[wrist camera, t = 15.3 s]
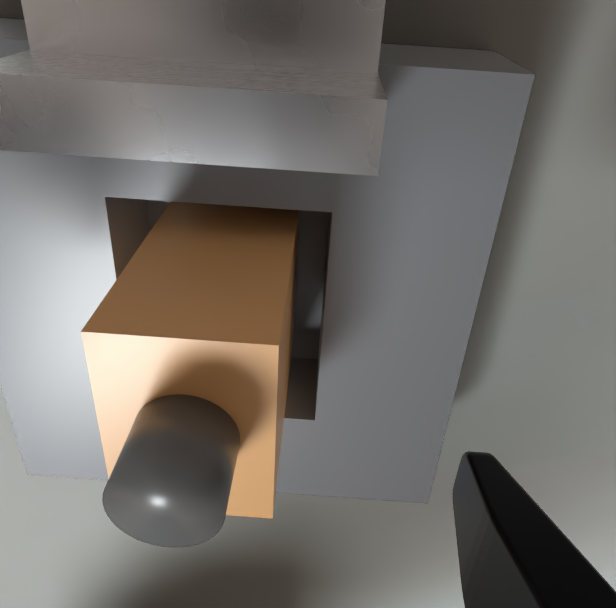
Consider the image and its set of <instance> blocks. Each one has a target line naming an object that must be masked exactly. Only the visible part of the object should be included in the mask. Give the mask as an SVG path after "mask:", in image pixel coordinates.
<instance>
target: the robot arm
mask: <svg viewBox="0 0 616 608" xmlns="http://www.w3.org/2000/svg"><path fill="white" fill-rule="evenodd" d="M453 507H454V517H455V527H456V536H457V546H458V556H459V565H460V575H461V584H462V592H463V599H464V604H465V608H616V591H615V590H614V589H613V588H612V587H611V586H610V585H609V584H608V582H607V581H606V580H605V579H604V578H603V577H602V576H601V575H600V574H599V572H598V571H597V570H596V569H595V568H594V567H593V566H592V565H591V564H590V562H589V561H588V560H587V559H586V558H585V557H584V556H583V555H582V554H581V552H580V551H579V550H578V549H577V548H576V547H575V546H574V545H573V544H572V542H571V541H570V540H569V539H568V538H567V537H566V536H565V535H564V534H563V532H562V531H561V530H560V529H559V528H558V527H557V526H556V525H555V524H554V522H553V521H552V520H551V519H550V518H549V517H548V516H547V515H546V514H545V512H544V511H543V510H542V509H541V508H540V507H539V506H538V505H537V504H536V502H535V501H534V500H533V499H532V498H531V497H530V496H529V495H528V494H527V492H526V491H525V490H524V489H523V488H522V487H521V486H520V485H519V484H518V482H517V481H516V480H515V479H514V478H513V477H512V476H511V475H510V474H509V472H508V471H507V470H506V469H505V468H504V467H503V466H502V465H501V464H500V462H499V461H498V460H497V459H496V458H495V457H494V456H493V455H491V454H490V453H484V452H470V451H468V452H465V453H464V454H463V456H462V458H461V462H460V465H459V469H458V472H457V476H456V479H455V483H454V487H453Z"/></svg>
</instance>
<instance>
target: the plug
mask: <svg viewBox="0 0 616 608" xmlns="http://www.w3.org/2000/svg"><path fill="white" fill-rule="evenodd" d="M299 216H300V210H289V209H275V208H260V207H246V206H231V205H217V204H202V203H187V202H173V201H171V202H170V203H169V204H168V206H167V207H166V209H165V210H164V212H163V213H162V215H161V216H160V218H159V219H158V220H157V222H156V223H155V225H154V226H153V228H152V229H151V231H150V232H149V233H148V235H147V236H146V238H145V239H144V241H143V242H142V244H141V245H140V247H139V248H138V249H137V251H136V252H135V254H134V255H133V257H132V258H131V260H130V261H129V262H128V264H127V265H126V267H125V268H124V270H123V271H122V273H121V274H120V276H119V277H118V278H117V280H116V281H115V283H114V284H113V286H112V287H111V289H110V290H109V291H108V293H107V294H106V296H105V297H104V299H103V300H102V302H101V303H100V305H99V306H98V307H97V309H96V310H95V312H94V313H93V315H92V316H91V318H90V319H89V320H88V322H87V323H86V325H85V326H84V328H83V329H82V331H81V336H82V341H83V346H84V351H85V357H86V362H87V367H88V373H89V378H90V383H91V388H92V394H93V399H94V404H95V410H96V415H97V420H98V426H99V431H100V436H101V441H102V447H103V452H104V457H105V463H106V468H107V473H108V478H109V480H108V482H107V484H106V487H105V489H104V492H103V506H104V509H105V512H106V514H107V515H108V517H109V518H110V520H111V521H112V522H113V523H114V524H115V525H116V526H117V527H118V528H119V529H120V530H122V531H123V532H125V533H126V534H128V535H129V536H131V537H133V538H135V539H137V540H140V541H142V542H145V543H148V544H152V545H157V546H162V547H188V546H193V545H197V544H200V543H203V542H205V541H207V540H209V539H210V538H212V537H213V536H215V535H216V534H217V533H218V532H219V530H220V529H221V527H222V526H223V524H224V520H225V516H226V515H231V516H245V517H259V518H272V519H273V512H274V503H275V495H276V486H277V477H278V468H279V459H280V450H281V441H282V433H283V424H284V415H285V406H286V397H287V388H288V380H289V371H290V362H291V353H292V344H293V334H294V314H295V295H296V275H297V255H298V236H299Z"/></svg>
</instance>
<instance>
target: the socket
mask: <svg viewBox="0 0 616 608" xmlns="http://www.w3.org/2000/svg"><path fill="white" fill-rule="evenodd" d="M28 50H30V47H29V41H28V36H27V31H26V25H25V20H22V19H7V18H0V58H3V57H7V56H10V55H14V54H17V53H21V52H24V51H28ZM378 76H379V78H380V81H381V83H382V86H383V89H384V91H385V94H386V97H387V99H388V101H387V109H386V117H385V125H384V133H383V141H382V149H381V157H380V165H379V173H378V176H368V175H354V174H339V173H324V172H310V171H295V170H280V169H266V168H251V167H236V166H222V165H207V164H192V163H178V162H163V161H148V160H134V159H119V158H104V157H90V156H75V155H60V154H46V153H31V152H16V151H2V150H0V386H1V389H2V392H3V396H4V399H5V402H6V406H7V409H8V413H9V416H10V419H11V423H12V426H13V429H14V433H15V436H16V439H17V443H18V446H19V450H20V453H21V456H22V460H23V463H24V466H25V470H26V473H27V475H38V476H52V477H66V478H80V479H94V480H109V478H108V473H107V468H106V463H105V457H104V452H103V447H102V441H101V436H100V431H99V426H98V420H97V415H96V410H95V404H94V399H93V394H92V388H91V383H90V378H89V373H88V367H87V362H86V357H85V351H84V346H83V341H82V336H81V331H82V329H83V328H84V326H85V325H86V323H87V322H88V320H89V319H90V318H91V316H92V315H93V313H94V312H95V310H96V309H97V307H98V306H99V305H100V303H101V302H102V300H103V299H104V297H105V296H106V294H107V293H108V291H109V290H110V289H111V287H112V286H113V284H114V283H115V281H116V280H117V278H118V277H119V276H120V274H121V273H122V271H123V270H124V268H125V267H126V265H127V264H128V262H129V261H130V260H131V258H132V257H133V255H134V254H135V252H136V251H137V249H138V248H139V247H140V245H141V244H142V242H143V241H144V239H145V238H146V236H147V235H148V233H149V232H150V231H151V229H152V228H153V226H154V225H155V223H156V222H157V220H158V219H159V218H160V216H161V215H162V213H163V212H164V210H165V209H166V207H167V206H168V204H169V203H170V202H171V201H173V202H187V203H202V204H217V205H231V206H246V207H260V208H275V209H289V210H300V216H299V236H298V255H297V275H296V295H295V314H294V334H293V344H292V353H291V362H290V371H289V380H288V388H287V397H286V406H285V415H284V424H283V433H282V441H281V450H280V459H279V468H278V477H277V486H276V493H288V494H302V495H316V496H330V497H344V498H357V499H371V500H385V501H399V502H413V503H428V499H429V495H430V491H431V487H432V484H433V480H434V476H435V472H436V468H437V464H438V460H439V456H440V452H441V448H442V444H443V440H444V436H445V432H446V428H447V424H448V420H449V416H450V412H451V408H452V404H453V400H454V396H455V392H456V388H457V384H458V380H459V376H460V372H461V368H462V364H463V360H464V356H465V352H466V348H467V344H468V340H469V336H470V332H471V328H472V324H473V320H474V316H475V312H476V308H477V304H478V300H479V296H480V292H481V288H482V284H483V280H484V276H485V272H486V268H487V264H488V260H489V256H490V252H491V248H492V244H493V241H494V237H495V233H496V229H497V225H498V221H499V217H500V213H501V209H502V205H503V201H504V197H505V193H506V189H507V185H508V181H509V177H510V173H511V169H512V165H513V161H514V157H515V153H516V149H517V145H518V141H519V137H520V133H521V129H522V125H523V121H524V117H525V113H526V109H527V105H528V101H529V97H530V93H531V89H532V85H533V81H534V77H535V74H533V73H531V72H530V71H528V70H526V69H524V68H523V67H521V66H519V65H517V64H515V63H514V62H512V61H510V60H508V59H507V58H505V57H503V56H501V55H499V54H498V53H496V52H494V51H488V50H473V49H458V48H443V47H427V46H412V45H397V44H382V43H381V47H380V56H379V65H378Z"/></svg>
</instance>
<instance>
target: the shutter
mask: <svg viewBox="0 0 616 608" xmlns="http://www.w3.org/2000/svg"><path fill="white" fill-rule="evenodd" d="M385 3H386V0H21V4H22V9H23V15H24V20H25V25H26V31H27V36H28V41H29V47H30V50H28V51H24V52H21V53H17V54H14V55H10V56H7V57H3V58H0V150H2V151H16V152H31V153H46V154H60V155H75V156H90V157H104V158H119V159H134V160H148V161H163V162H178V163H192V164H207V165H222V166H236V167H251V168H266V169H280V170H295V171H310V172H324V173H339V174H354V175H368V176H378V173H379V165H380V157H381V149H382V141H383V133H384V125H385V117H386V109H387V101H388V99H387V97H386V94H385V91H384V89H383V86H382V83H381V81H380V78H379V76H378V65H379V56H380V47H381V38H382V30H383V21H384V12H385Z"/></svg>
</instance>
